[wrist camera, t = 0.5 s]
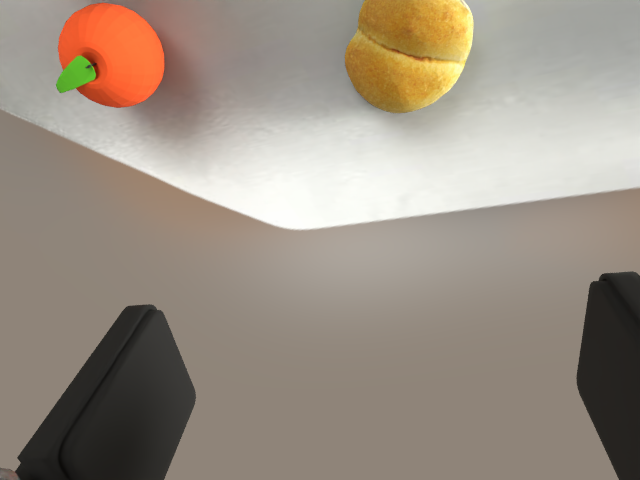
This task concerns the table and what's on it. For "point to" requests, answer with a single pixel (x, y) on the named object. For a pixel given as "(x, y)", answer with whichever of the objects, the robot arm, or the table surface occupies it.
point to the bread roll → (408, 51)
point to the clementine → (110, 56)
